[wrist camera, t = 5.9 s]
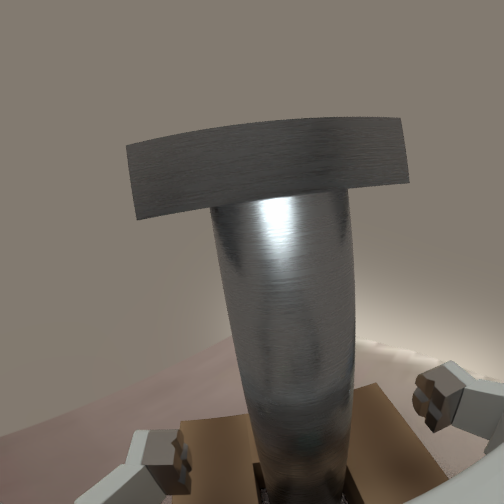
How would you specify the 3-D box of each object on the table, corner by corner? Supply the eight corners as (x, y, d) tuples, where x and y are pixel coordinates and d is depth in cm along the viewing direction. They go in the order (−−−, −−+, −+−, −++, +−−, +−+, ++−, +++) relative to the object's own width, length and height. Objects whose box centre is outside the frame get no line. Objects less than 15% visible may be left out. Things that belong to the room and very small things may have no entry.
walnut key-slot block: (189, 614, 4) (166, 608, 4) (192, 449, 17) (180, 421, 16) (457, 546, 5) (481, 525, 5) (372, 412, 18) (376, 382, 17)
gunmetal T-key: (245, 545, 9) (112, 139, 5) (240, 497, 13) (151, 157, 9) (377, 514, 10) (419, 111, 6) (356, 472, 13) (358, 132, 9)
